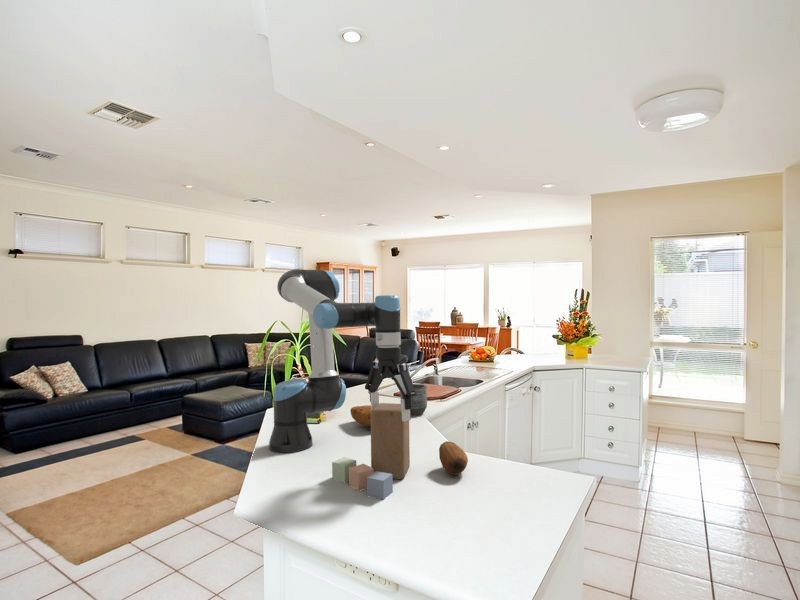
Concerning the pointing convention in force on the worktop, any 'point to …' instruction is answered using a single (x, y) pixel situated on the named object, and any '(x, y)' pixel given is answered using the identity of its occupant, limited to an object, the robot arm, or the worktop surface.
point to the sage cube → (342, 469)
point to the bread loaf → (362, 414)
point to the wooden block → (389, 440)
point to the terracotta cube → (359, 476)
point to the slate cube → (379, 485)
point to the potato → (452, 458)
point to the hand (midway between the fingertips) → (390, 417)
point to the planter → (418, 400)
